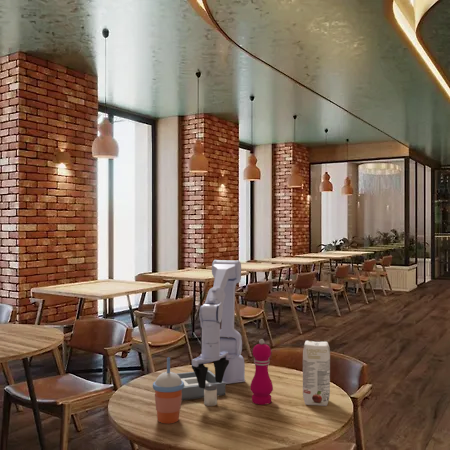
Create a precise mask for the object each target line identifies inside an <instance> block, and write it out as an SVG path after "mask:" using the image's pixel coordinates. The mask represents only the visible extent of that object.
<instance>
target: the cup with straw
mask: <svg viewBox="0 0 450 450" xmlns="http://www.w3.org/2000/svg"><path fill="white" fill-rule="evenodd" d="M183 388H184V382H183V381H182V380H181V378H180V377H179V376H178V375H177V373H176V372H173V371H171V357H170V356H169V357H166V371H164V372H162V373H160V374H159V375H158V376H157V377H156V379H155V381H153V383H152V389H153V390H154V401H155V402H154V403H155V410H156V416H157V417H156V418H157V421H158V422H159V423H160V422H161V424H166V425H167V424H168V425H169V424H174V423H176V422H178V421H179V420H180V413H181V408H182V401H181V399H182V393H181V392H182V389H183Z"/></svg>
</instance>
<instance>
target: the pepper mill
mask: <svg viewBox="0 0 450 450" xmlns="http://www.w3.org/2000/svg"><path fill="white" fill-rule="evenodd" d="M265 342H266V341H265V340H264V339H263V338H261V339H259V341H258V344H256V345H255V344H254V346H253V347H252V351H251V352H252V356H253V364H254V365H255V367H254V368H255V371H254V375H253V377H252V379H251V382H250V392H251V393H252V394H251V402H252V403H253V404H256V405H260V406H261V405H262V406H263V405H269V404H270V403H272V395H271V393H273V391H274V385H273V382H272V379H271V377H270V375H269V374H270V373H269V365H270V357H271V355H272V350H271V347H270V346H269V345H268V344H265Z"/></svg>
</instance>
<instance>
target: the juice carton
mask: <svg viewBox="0 0 450 450" xmlns="http://www.w3.org/2000/svg"><path fill="white" fill-rule="evenodd" d="M303 344H304V345H303V350H302V398H303V401H304V404H305V405H308V406H319V407H321V406H323V407H327V406H328V403H329V401H330V397H331V396H330V395H331V394H330V393H331V391H330V390H331V389H330V388H331V387H330V386H331V350H330V349H331V348H330V345H329V342H328V341H313V340H305V342H304V343H303Z"/></svg>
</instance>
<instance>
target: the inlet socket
mask: <svg viewBox="0 0 450 450" xmlns="http://www.w3.org/2000/svg"><path fill="white" fill-rule="evenodd" d="M181 380H182V381H183V382H184V387H186V386H195V385H198V381H197V377H191V378H183V379H181ZM206 383H208V382H207V381H206Z"/></svg>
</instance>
